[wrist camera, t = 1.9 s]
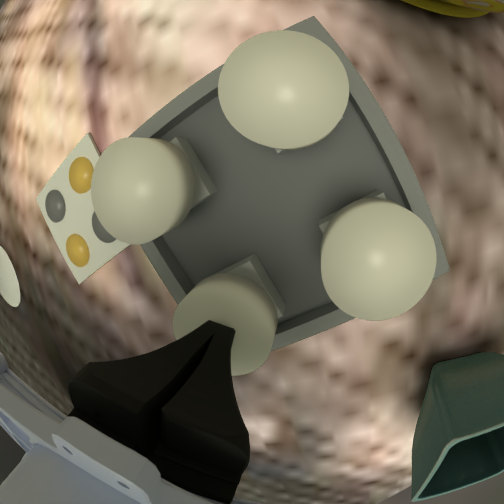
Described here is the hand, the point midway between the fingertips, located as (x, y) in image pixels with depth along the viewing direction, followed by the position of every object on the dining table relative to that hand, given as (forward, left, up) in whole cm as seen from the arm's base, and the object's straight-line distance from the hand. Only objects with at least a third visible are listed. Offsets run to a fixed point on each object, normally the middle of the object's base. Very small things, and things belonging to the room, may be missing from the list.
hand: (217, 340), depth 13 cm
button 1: (+8, 0, -4) cm, 9 cm away
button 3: (0, 0, -4) cm, 4 cm away
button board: (+4, +4, -6) cm, 8 cm away
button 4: (0, +8, -4) cm, 9 cm away
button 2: (+8, +8, -4) cm, 12 cm away
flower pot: (+11, -15, -6) cm, 20 cm away
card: (-9, +11, -6) cm, 15 cm away
